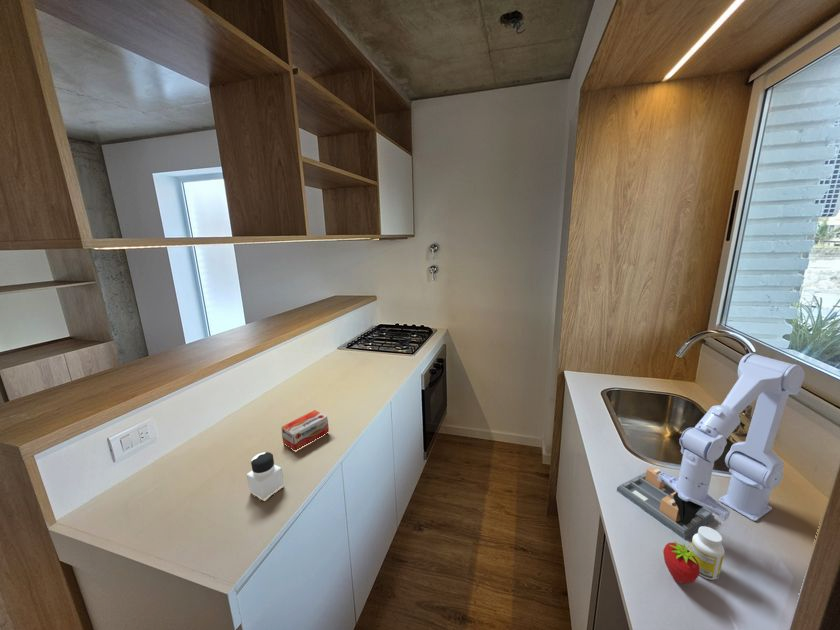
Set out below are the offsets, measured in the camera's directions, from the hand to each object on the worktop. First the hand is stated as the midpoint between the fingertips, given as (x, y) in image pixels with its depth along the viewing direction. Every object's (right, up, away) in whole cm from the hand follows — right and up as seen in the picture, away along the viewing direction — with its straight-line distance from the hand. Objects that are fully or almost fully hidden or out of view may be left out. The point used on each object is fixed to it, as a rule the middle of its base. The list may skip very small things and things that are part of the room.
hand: (685, 521), depth 84 cm
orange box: (-1, 0, +3) cm, 4 cm away
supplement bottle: (-3, -5, -9) cm, 11 cm away
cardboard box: (+2, +2, +14) cm, 15 cm away
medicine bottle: (-115, -2, +18) cm, 116 cm away
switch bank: (+1, -1, +9) cm, 9 cm away
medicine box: (-111, +4, +43) cm, 119 cm away
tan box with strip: (+2, 0, +5) cm, 5 cm away
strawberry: (-11, -6, -11) cm, 17 cm away
